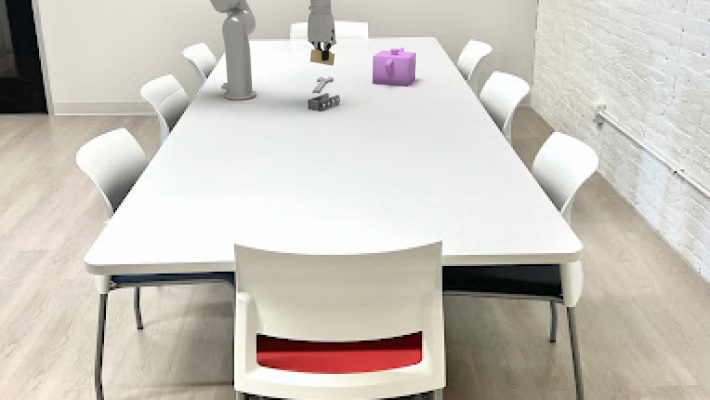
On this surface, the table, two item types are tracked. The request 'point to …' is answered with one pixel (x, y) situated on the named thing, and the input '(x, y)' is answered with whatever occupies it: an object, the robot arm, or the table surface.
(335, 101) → the chain end grey
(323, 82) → the adjustable wrench
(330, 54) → the master link
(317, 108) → the chain end dark
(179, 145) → the table surface
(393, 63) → the teapot
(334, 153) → the table surface
